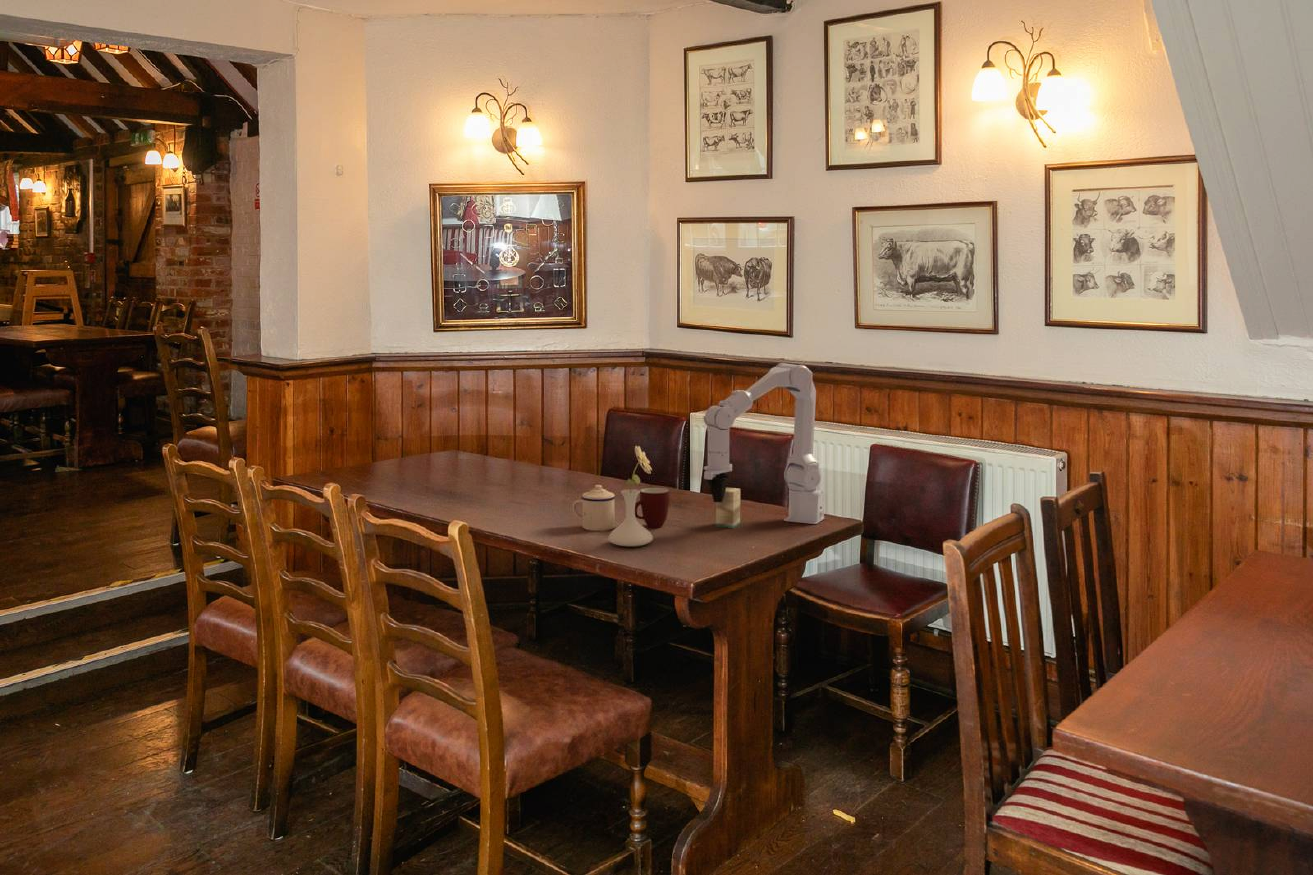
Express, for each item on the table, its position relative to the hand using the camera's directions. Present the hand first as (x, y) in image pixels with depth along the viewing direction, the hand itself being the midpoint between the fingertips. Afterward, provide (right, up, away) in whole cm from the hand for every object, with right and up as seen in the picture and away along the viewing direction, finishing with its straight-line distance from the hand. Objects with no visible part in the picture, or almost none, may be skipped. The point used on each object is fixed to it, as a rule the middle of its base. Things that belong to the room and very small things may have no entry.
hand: (718, 501), depth 291 cm
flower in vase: (-23, -10, -13) cm, 28 cm away
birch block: (+3, -7, +7) cm, 11 cm away
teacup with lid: (-34, -7, +5) cm, 35 cm away
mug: (-18, -7, +6) cm, 20 cm away
